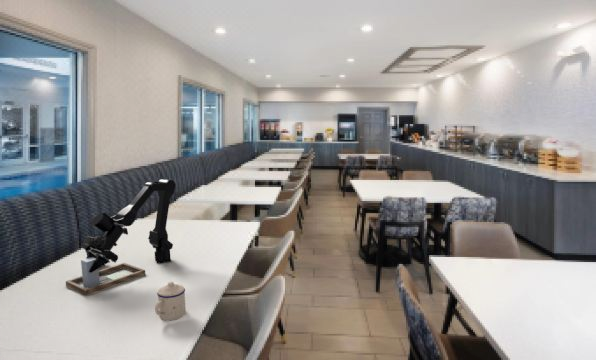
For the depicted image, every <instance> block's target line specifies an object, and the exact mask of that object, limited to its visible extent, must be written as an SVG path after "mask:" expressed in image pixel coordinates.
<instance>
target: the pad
mask: <svg viewBox="0 0 596 360" xmlns="http://www.w3.org/2000/svg"><path fill="white" fill-rule="evenodd" d="M126 275H127V274H125V273H121V272H119V271H117V272H114V273H111V274H109V275H108V274H107V275H105V276H104V277H106V278H108V279H111V280H115V279H117V278H120V277H123V276H126Z"/></svg>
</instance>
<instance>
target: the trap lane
mask: <svg viewBox="0 0 596 360" xmlns="http://www.w3.org/2000/svg"><path fill="white" fill-rule="evenodd" d="M122 269H125V270H127V271H129V272H131V273H129V274H125V275H126V276H123V277H120V278H117V279H115V280H111V279H108V278H106V277H105V276H103V275H108V274H110V273H113V272H116V271H118V270H122ZM145 275H146V270H145V269H144V268H140V267H137V266H136V265H135V266H134V265H132V264H129V263H126V262H122V263H119V264H116V265H112V266H109V267H107V268H103V269H100V270H99V279H100V285H97V286H94V287H91V288H87V287H85V286H82V285H81V284H79V283H83V277H82V275H81V276H78V277H74V278H72V279H68V280H66V281H65V287H68V288H69V289H72V290H74V291H76V292H78V293H80V294H82V295H84V296H90V295H92V294H95V293H97V292H100V291H103V290H106V289H108V288H109V289H110V288H112V287H114V286H118V285H120V284H123V283H125V282H128V281H131V280H134V279H136V278H139V277H142V276H145Z"/></svg>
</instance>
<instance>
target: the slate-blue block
mask: <svg viewBox="0 0 596 360" xmlns="http://www.w3.org/2000/svg"><path fill="white" fill-rule="evenodd" d="M95 260H96V258H94V257H90V258H87V257H86V258H84V259H80V265H81V273H82V274H81V276H82V277H83V282H82V284H83V286H82V287H84V288H87V289H88V288H91V287H94V286H97V285H100V279H99V269H100V268H98V269H96V270H95V271H93V272H92V273H90V272H89V270H90V268H91V266H92V265H93V263H94V261H95Z"/></svg>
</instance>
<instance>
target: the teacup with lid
mask: <svg viewBox="0 0 596 360" xmlns="http://www.w3.org/2000/svg"><path fill="white" fill-rule="evenodd" d="M185 292H186V288H185V286H184V285H182V284H176V283H174V281H169V282H167V284H166V285H164V286H161V287H160V288H159V289H158V290H157V293H156V294H157V298H158V302H157V303H156V304H155V306H154V310H155V314H156V315H158V316H159V318H160V319H161V320H164V321H175V320H178V319H180V318H182V317H184V316H185V315H186V313H187V311H186V297H185V296H186V295H185Z"/></svg>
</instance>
